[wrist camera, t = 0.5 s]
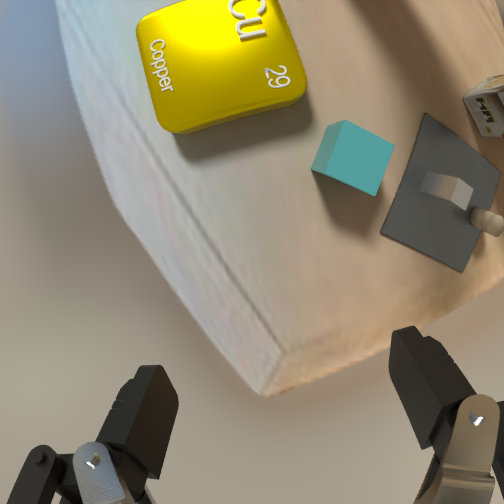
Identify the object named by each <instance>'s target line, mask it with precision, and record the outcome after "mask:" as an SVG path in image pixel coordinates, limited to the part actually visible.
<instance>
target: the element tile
mask: <svg viewBox="0 0 504 504" xmlns="http://www.w3.org/2000/svg"><path fill="white" fill-rule="evenodd" d="M136 37H137V42H138V46H139V50H140V55H141V59H142V63H143V67H144V71H145V75H146V79H147V83H148V87H149V91H150V95H151V98H152V102H153V106H154V110H155V113H156V117H157V120H158V122H159V124H160V125H161V126H162V127H163V129H165V130H167V131H169V132H173V133H177V134H191V133H194V132H197V131H200V130H203V129H206V128H209V127H212V126H215V125H219V124H222V123H225V122H229V121H232V120H236V119H239V118H243V117H246V116H250V115H254V114H258V113H262V112H266V111H270V110H274V109H278V108H283V107H287V106H290V105H292V104H294V103H295V102H297V101H298V100H299V99H300V97H301V96H302V95H303V93H304V92H305V90H306V88H307V76H306V73H305V70H304V67H303V64H302V61H301V58H300V56H299V53H298V50H297V47H296V45H295V42H294V39H293V37H292V34H291V31H290V29H289V26H288V24H287V21H286V19H285V16H284V14H283V11H282V9H281V7H280V4H279V2H278V0H183V1H180V2H177V3H175V4H172V5H169V6H167V7H164V8H161V9H159V10H156V11H154V12H152V13H150V14H148V15H146V16H145V17H144V18H142V19H141V20H140V22H139V23H138V25H137V28H136Z"/></svg>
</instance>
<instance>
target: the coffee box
mask: <svg viewBox="0 0 504 504" xmlns="http://www.w3.org/2000/svg"><path fill="white" fill-rule="evenodd" d="M463 100H464V102H465V104H466V106H467V108H468V110H469V112H470V113H471V115H472V117H473V119H474V121H475V123H476V126H477V128H478V130H479V132H480V134H481V136H484V137H503V138H504V75H499V76H494V77H489V78H488V79H487V80H485V81H484V82H483V83H481V84H480V85H479V86H477V87H476V88H475V89H473V90H472V91H471V92H469V93H468V94H467V95H465V96H464V97H463Z"/></svg>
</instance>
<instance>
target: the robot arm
mask: <svg viewBox="0 0 504 504" xmlns="http://www.w3.org/2000/svg"><path fill="white" fill-rule="evenodd" d="M389 373H390V377H391V380H392V382H393V384H394V386H395V388H396V391H397V393H398V395H399V397H400V400H401V402H402V404H403V406H404V409H405V411H406V413H407V416H408V418H409V420H410V423H411V425H412V427H413V430H414V432H415V434H416V437H417V439H418V442H419V444H420V447H421V449H422V450H423V449H426V448H428V447H430V446H433V449H434V451H435V453H434V455H433V458H432V461H431V464H430V466H429V469H428V471H427V474H426V476H425V479H424V481H423V483H422V486H421V488H420V490H419V492H418V494H417V497H416V499H415V501H414V503H413V504H490V501H491V497H492V493H493V490H494V485H495V478H494V477H493V476H491V475H490V471H491V466H492V468H493V470H494V473H495V476H496V479H497V481H498V484H499V487H500V490H501V493H502V496H503V499H504V401H501V402H496V401H495V400H494V399H492V398H491V397H489V396H486V395H483V394H477V393H476V392H475V391H474V389H473V388H472V386H471V385H470V384H469V382H468V380H467V379H466V377H465V376H464V375H463V373H462V372H461V370H460V369H459V368H458V366H457V365H456V363H454V360H453V359H452V358H451V356H450V355H448V352H447V351H446V349H445V348H444V347H443V346H442V344H441V343H440V342H438V341H437V340H435V339H434V338H432V337H430V336H427V337H424V338H423V336H422V335H421V333H420V332H419V331H418V329H417V328H416V327H415V326H409V327H406V328H402V329H399V330H395V331H393V333H392V338H391V348H390V356H389ZM178 406H179V401H178V396H177V393H176V391H175V389H174V387H173V386H172V383H171V382H170V380H169V378H168V376H167V374H166V372H165V370H164V368H163V367H162V366H161V365H142V366H140V367H139V368H138V370H137V373H136V374H135V377H134V379H130V380H129V381H128V382H127V383H126V384H125V385H124V386H123V387H122V388H121V389H120V391H119V393H118V395H117V397H116V401H114V403H113V405H112V410H110V411H109V414H108V416H107V418H106V420H105V422H104V424H103V426H102V428H101V430H100V432H99V435H98V437H97V439H96V441H95V442H88V443H85V444H83V445H82V446H80V447H79V448H78V449H77V450H76V452H75V453H74V454H57V453H56V452H55V451H54V450H53V449H52V448H51V447H49V446H47V445H39V446H37V447H35V448H34V449H32V450H31V452H30V453H29V455H28V457H27V459H26V461H25V463H24V465H23V467H22V469H21V471H20V474H19V476H18V478H17V480H16V482H15V485H14V487H13V490H12V492H11V494H10V497H9V499H8V502H7V504H51V501H52V499H53V496H54V493H55V492H57V493H58V494H59V495H61V496H62V497H61V500H60V503H59V504H156V502H155V500H154V499H153V497H152V495H151V493H150V491H149V489H148V487H147V486H146V485H145V483H146V480H147V478H150V479H158V480H159V477H160V474H161V469H162V466H163V462H164V458H165V455H166V451H167V447H168V443H169V440H170V436H171V432H172V429H173V425H174V422H175V417H176V414H177V411H178Z"/></svg>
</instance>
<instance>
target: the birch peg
mask: <svg viewBox="0 0 504 504" xmlns="http://www.w3.org/2000/svg"><path fill="white" fill-rule="evenodd" d="M471 223H472V225H473V226H474V227H476V228H478V229H480V230H482V231H484V232H487V233H489V234H491V235H493V236H495V237H498V236H499V235H500V234H501V233H502V231H503V228H504V220H503V218H502V216H500V215H497V214H495V213H492V212H490V211H487V210H484V209H482V208H479V207H477V208H475V209H474V210H473V212H472V214H471Z"/></svg>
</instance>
